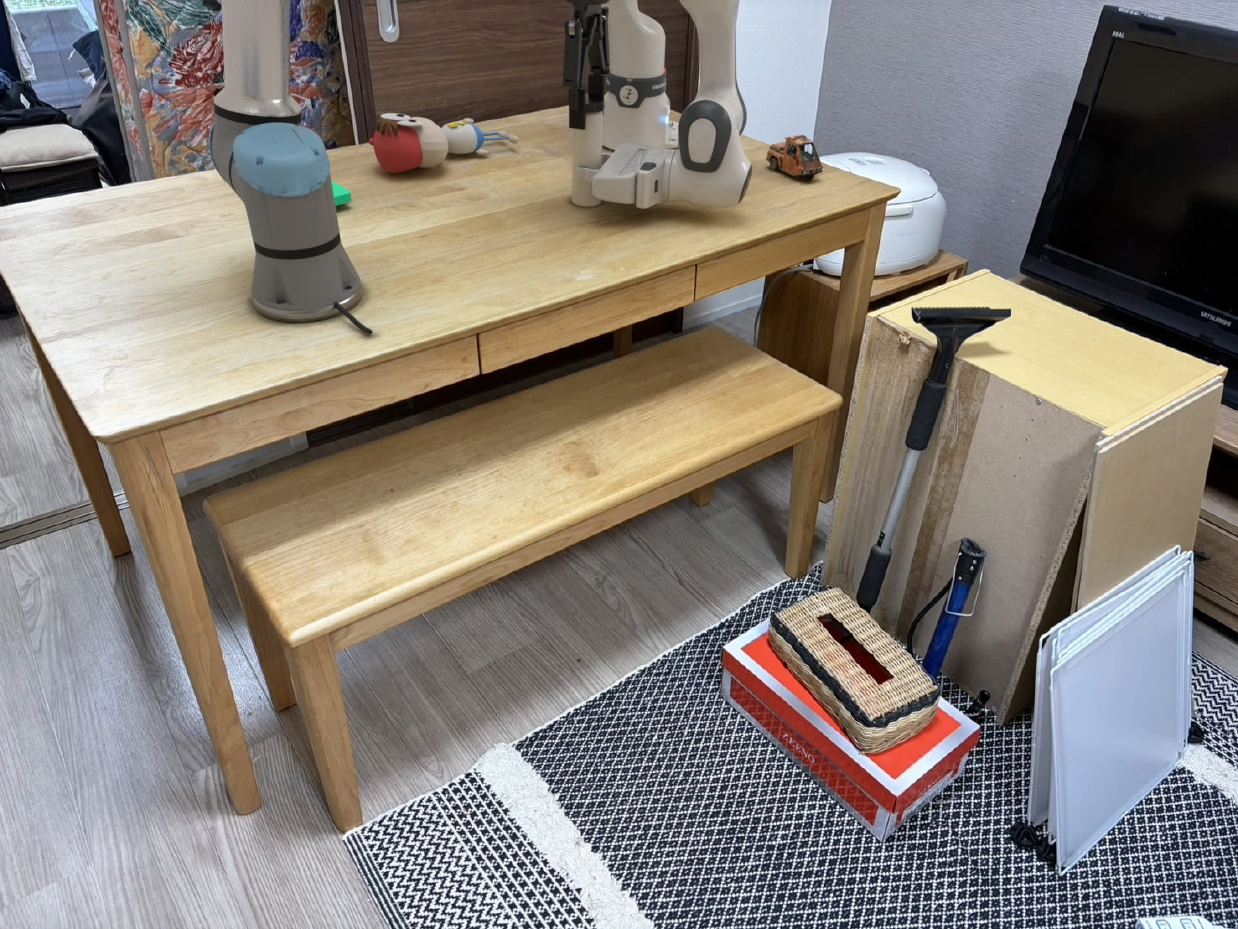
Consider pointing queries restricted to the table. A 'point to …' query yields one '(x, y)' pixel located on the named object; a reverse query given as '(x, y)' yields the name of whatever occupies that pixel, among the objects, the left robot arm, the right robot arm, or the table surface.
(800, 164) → the toy car
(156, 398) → the table surface
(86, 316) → the table surface
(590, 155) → the jar
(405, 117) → the toy
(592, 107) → the lid
